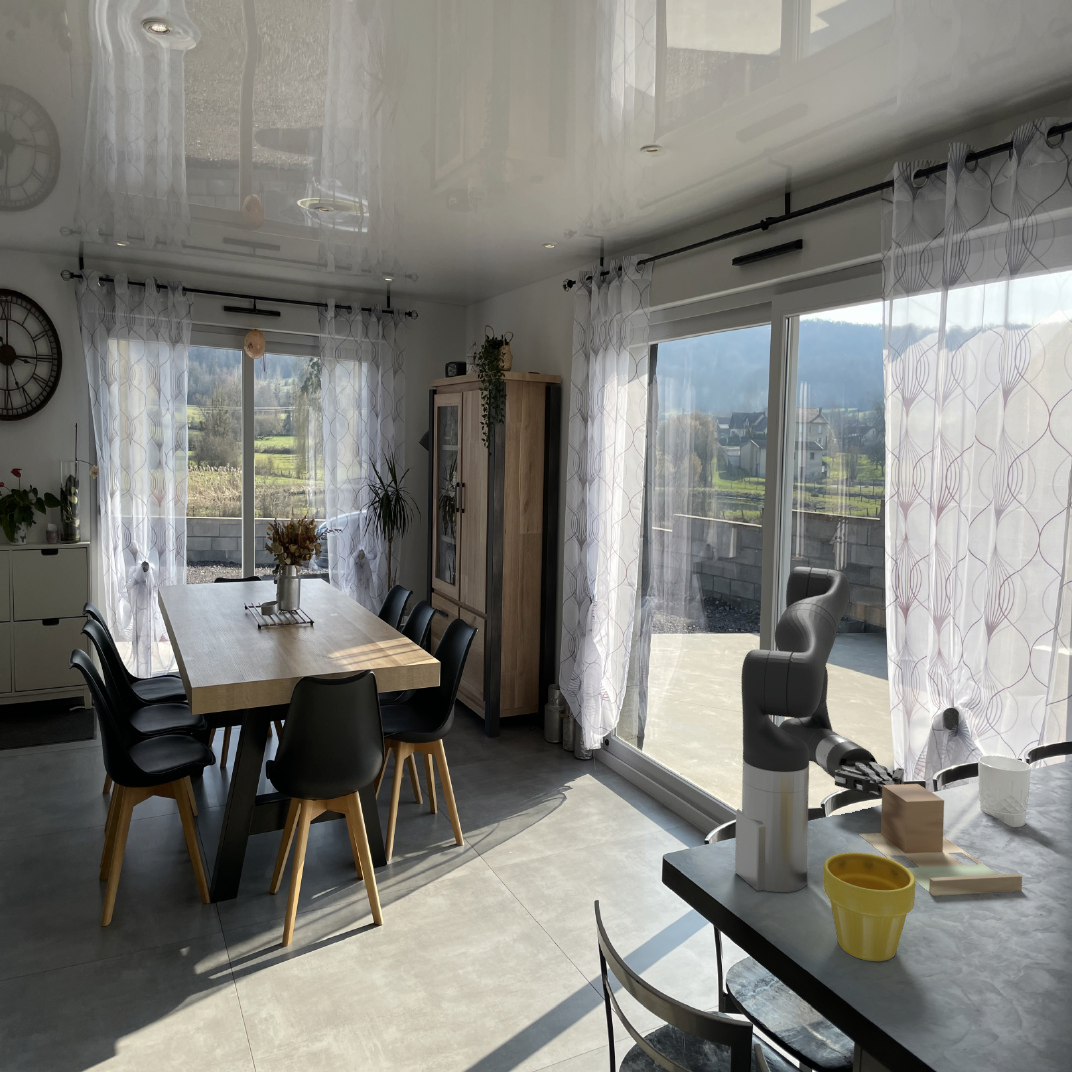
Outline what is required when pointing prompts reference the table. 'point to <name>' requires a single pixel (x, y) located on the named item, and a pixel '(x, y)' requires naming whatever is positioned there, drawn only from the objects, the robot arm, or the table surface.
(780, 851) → the robot arm
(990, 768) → the white cup
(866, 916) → the plant pot
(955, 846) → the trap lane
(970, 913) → the table surface
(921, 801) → the walnut block
